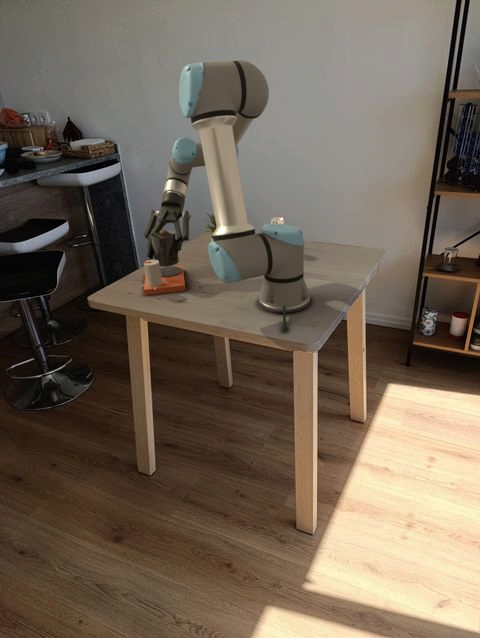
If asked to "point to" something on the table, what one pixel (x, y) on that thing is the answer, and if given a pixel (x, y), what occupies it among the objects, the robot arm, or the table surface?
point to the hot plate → (167, 284)
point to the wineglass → (277, 220)
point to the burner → (170, 271)
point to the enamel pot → (163, 247)
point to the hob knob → (153, 273)
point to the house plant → (211, 225)
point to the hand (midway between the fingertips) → (161, 258)
